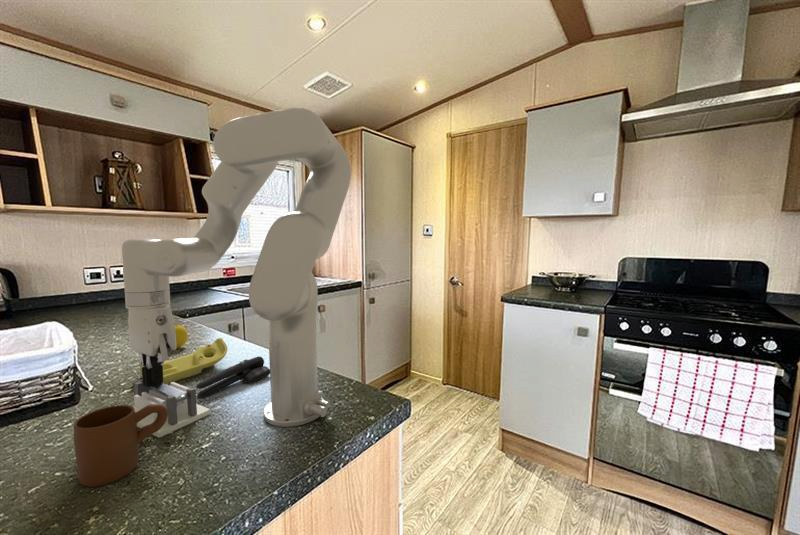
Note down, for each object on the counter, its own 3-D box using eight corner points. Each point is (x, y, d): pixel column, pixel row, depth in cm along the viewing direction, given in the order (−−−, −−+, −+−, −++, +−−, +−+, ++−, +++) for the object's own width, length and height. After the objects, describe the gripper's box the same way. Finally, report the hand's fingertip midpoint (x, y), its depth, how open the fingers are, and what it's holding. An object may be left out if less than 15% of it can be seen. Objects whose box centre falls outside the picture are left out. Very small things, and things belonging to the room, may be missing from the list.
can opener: (259, 371, 97) (258, 351, 97) (273, 377, 93) (272, 357, 92) (190, 395, 83) (188, 372, 82) (203, 403, 79) (202, 379, 78)
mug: (166, 440, 64) (162, 391, 63) (175, 460, 59) (171, 406, 58) (77, 471, 56) (72, 415, 55) (78, 497, 51) (72, 435, 50)
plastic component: (148, 381, 85) (138, 355, 90) (150, 402, 88) (140, 376, 93) (232, 355, 99) (219, 334, 104) (231, 374, 102) (218, 352, 107)
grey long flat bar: (189, 398, 70) (189, 394, 70) (176, 404, 68) (176, 399, 68) (154, 380, 77) (154, 376, 77) (141, 385, 75) (141, 380, 75)
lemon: (171, 346, 118) (170, 323, 117) (190, 344, 120) (188, 322, 119) (166, 351, 113) (164, 327, 112) (185, 350, 114) (184, 326, 113)
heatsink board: (210, 413, 74) (208, 384, 73) (158, 437, 65) (156, 404, 64) (171, 397, 81) (169, 370, 81) (120, 417, 73) (118, 387, 72)
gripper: (187, 299, 72) (191, 385, 74) (149, 292, 79) (154, 370, 81) (146, 306, 65) (151, 400, 67) (109, 297, 73) (115, 382, 74)
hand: (153, 383), depth 74 cm, fingers closed
